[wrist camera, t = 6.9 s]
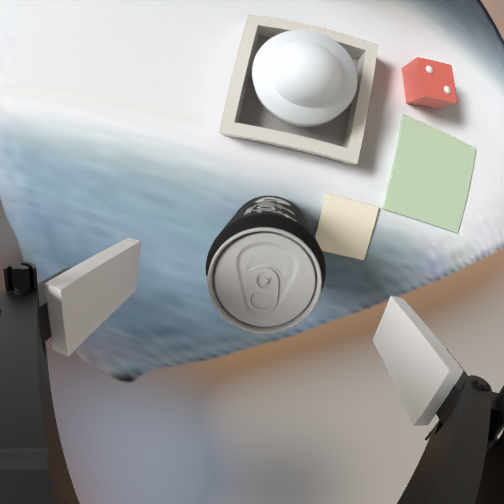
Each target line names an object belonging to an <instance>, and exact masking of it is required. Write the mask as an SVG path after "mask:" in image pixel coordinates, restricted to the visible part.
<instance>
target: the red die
mask: <svg viewBox="0 0 504 504" xmlns="http://www.w3.org/2000/svg"><path fill="white" fill-rule="evenodd" d="M402 73H403V80H404V87H405V96H406V103H407V104H414V105H421V106H427V107H433V108H441V107H444V106H448V105H451V104H455V103H457V97H456V90H455V83H454V77H453V72H452V66H451V65H449V64H445V63H441V62H437V61H433V60H428V59H424V58H419V57H417V58H416V59H414V60H413V61H411V62H410V63H409V64H407V65H406V66H404V67H403V68H402Z"/></svg>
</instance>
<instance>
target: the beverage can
mask: <svg viewBox="0 0 504 504" xmlns="http://www.w3.org/2000/svg"><path fill="white" fill-rule="evenodd" d="M325 274H326V269H325V260H324V256H323V253H322V250H321V248H320V246H319V244H318V242H317V240H316V238H315V237H314V235H313V233H312V231H311V229H310V227H309V226H308V224H307V222H306V220H305V218H304V217H303V215H302V213H301V212H300V210H299V209H298V208H297V207H296V206H295V205H294V204H292V203H291V202H289V201H288V200H286V199H283V198H280V197H276V196H262V197H258V198H255V199H252V200H250V201H249V202H247V203H246V204H244V205H243V206H242V207H241V208H240V209H239V210H238V212H237V213H236V214H235V215H234V216H233V218H232V219H231V220H230V221H229V223H228V224H227V225H226V226H225V228H224V229H223V230H222V231H221V233H220V234H219V235H218V236H217V238H216V239H215V241H214V242H213V244H212V246H211V248H210V250H209V253H208V257H207V262H206V277H207V282H208V289H209V293H210V297H211V299H212V302H213V304H214V305H215V307H216V309H217V310H218V311H219V313H220V314H221V315H222V316H223V317H224V318H225V319H226V320H227V321H229V322H230V323H231V324H233V325H235V326H236V327H238V328H240V329H243V330H245V331H249V332H252V333H258V334H272V333H278V332H282V331H286V330H288V329H290V328H293V327H294V326H296V325H298V324H299V323H301V322H302V321H303V320H304V319H305V318H306V317H307V316H308V315H309V314H310V313H311V312H312V310H313V309H314V307H315V306H316V304H317V301H318V299H319V296H320V293H321V291H322V288H323V285H324V282H325Z"/></svg>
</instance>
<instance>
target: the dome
mask: <svg viewBox="0 0 504 504" xmlns="http://www.w3.org/2000/svg"><path fill="white" fill-rule="evenodd" d="M252 78H253V83H254V87H255V90H256V94H257V96H258V99H259V101H260V102H261V104H262V106H263V107H264V108H265V109H266V110H267V111H268V112H269V113H270V114H271V115H272V116H274V117H275V118H276V119H278V120H280V121H282V122H284V123H286V124H289V125H293V126H298V127H314V126H319V125H322V124H325V123H327V122H329V121H331V120H332V119H334V118H335V117H336V116H338V115H339V114H340V113H342V112H343V111H344V110H345V109H346V108H347V107H348V106H349V104H350V103H351V101H352V100H353V98H354V96H355V93H356V89H357V82H358V79H357V71H356V68H355V65H354V62H353V60H352V58H351V57H350V55H349V54H348V52H347V51H346V50H345V49H344V48H343V47H342V46H341V45H340V44H339V43H338V42H336V41H335V40H334V39H332V38H330V37H328V36H326V35H324V34H322V33H318V32H315V31H310V30H291V31H286V32H283V33H280V34H278V35H276V36H274V37H272V38H270V39H269V40H268V41H267V42H265V43H264V44H263V46H262V47H261V48H260V49H259V51H258V52H257V54H256V56H255V59H254V62H253V67H252Z"/></svg>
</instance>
